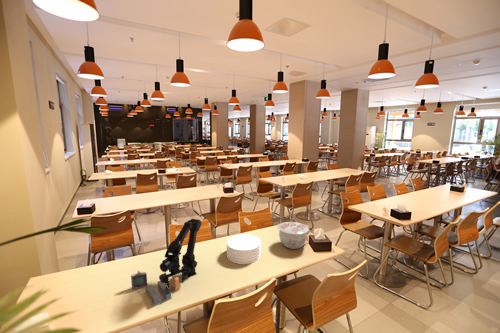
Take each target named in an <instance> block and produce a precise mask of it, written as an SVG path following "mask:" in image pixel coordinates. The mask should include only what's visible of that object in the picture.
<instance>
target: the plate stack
mask: <svg viewBox="0 0 500 333" xmlns="http://www.w3.org/2000/svg"><path fill="white" fill-rule="evenodd" d="M261 253H262V241H261V239H260V238H259V237H258V236H255V235H252V234H245V233H244V234H243V233H241V234H236V235H235V234H234V235H233V236H230V237H229V238H228V239H227V240H226V257H227V259H228V260H229V261H230V262H232V263H235V264H240V265H246V264H248V265H249V264H252V263H255V262H257V261H258V260H260V258H261V255H262V254H261Z"/></svg>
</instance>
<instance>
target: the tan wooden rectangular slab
mask: <svg viewBox="0 0 500 333" xmlns="http://www.w3.org/2000/svg"><path fill="white" fill-rule="evenodd" d="M171 285H172V287H173V288H174V290H175V291H179V290H180V278H179V277H178V276H177V275H174V276H172V277H171Z"/></svg>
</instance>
